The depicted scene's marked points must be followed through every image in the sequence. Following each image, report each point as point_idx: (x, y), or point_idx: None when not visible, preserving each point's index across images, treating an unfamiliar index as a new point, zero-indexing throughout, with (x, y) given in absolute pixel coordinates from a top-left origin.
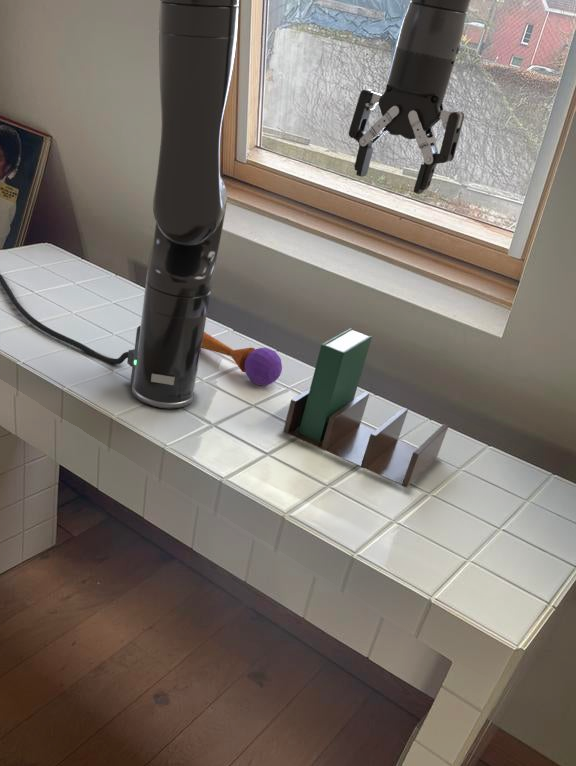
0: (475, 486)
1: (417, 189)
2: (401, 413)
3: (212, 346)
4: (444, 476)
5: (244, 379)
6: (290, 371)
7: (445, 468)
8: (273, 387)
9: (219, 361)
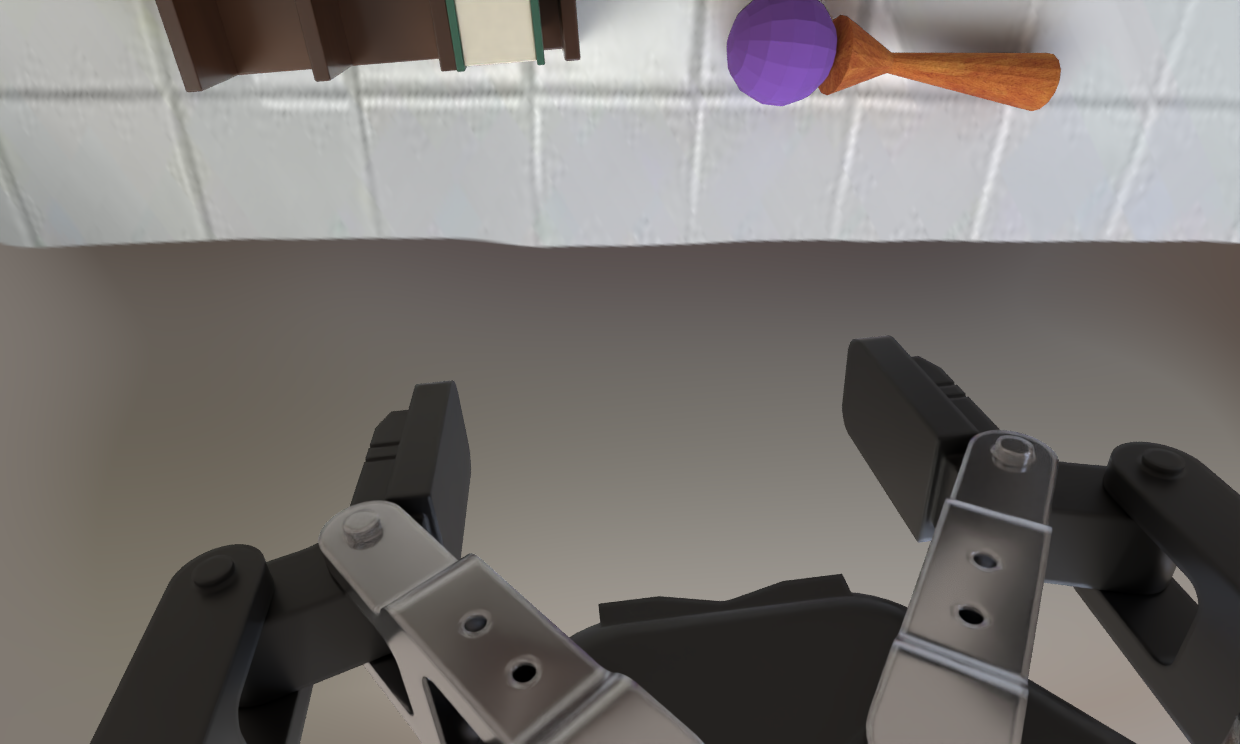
0: (86, 40)
1: (425, 390)
2: (306, 31)
3: (952, 54)
4: None
5: None
6: (744, 187)
7: None
8: None
9: None
